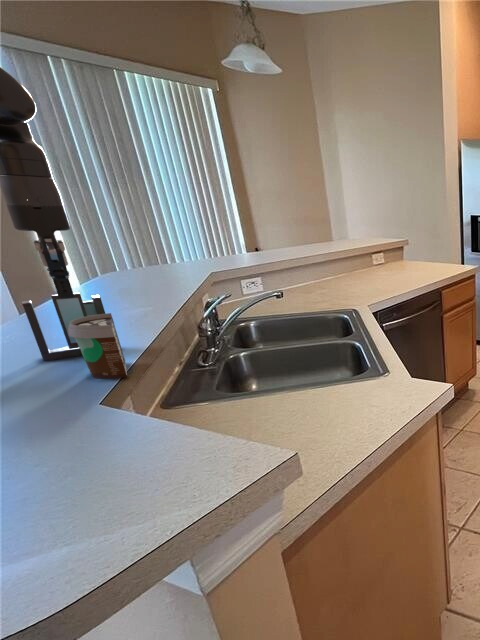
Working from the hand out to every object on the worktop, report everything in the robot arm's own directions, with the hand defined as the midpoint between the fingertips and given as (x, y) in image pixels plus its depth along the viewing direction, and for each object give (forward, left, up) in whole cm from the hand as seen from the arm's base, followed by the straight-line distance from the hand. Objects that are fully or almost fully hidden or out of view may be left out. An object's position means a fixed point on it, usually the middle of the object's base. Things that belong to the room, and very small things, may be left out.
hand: (66, 296), depth 88 cm
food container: (+6, -16, -12) cm, 21 cm away
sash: (0, 0, -10) cm, 10 cm away
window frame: (-1, 0, -12) cm, 12 cm away
